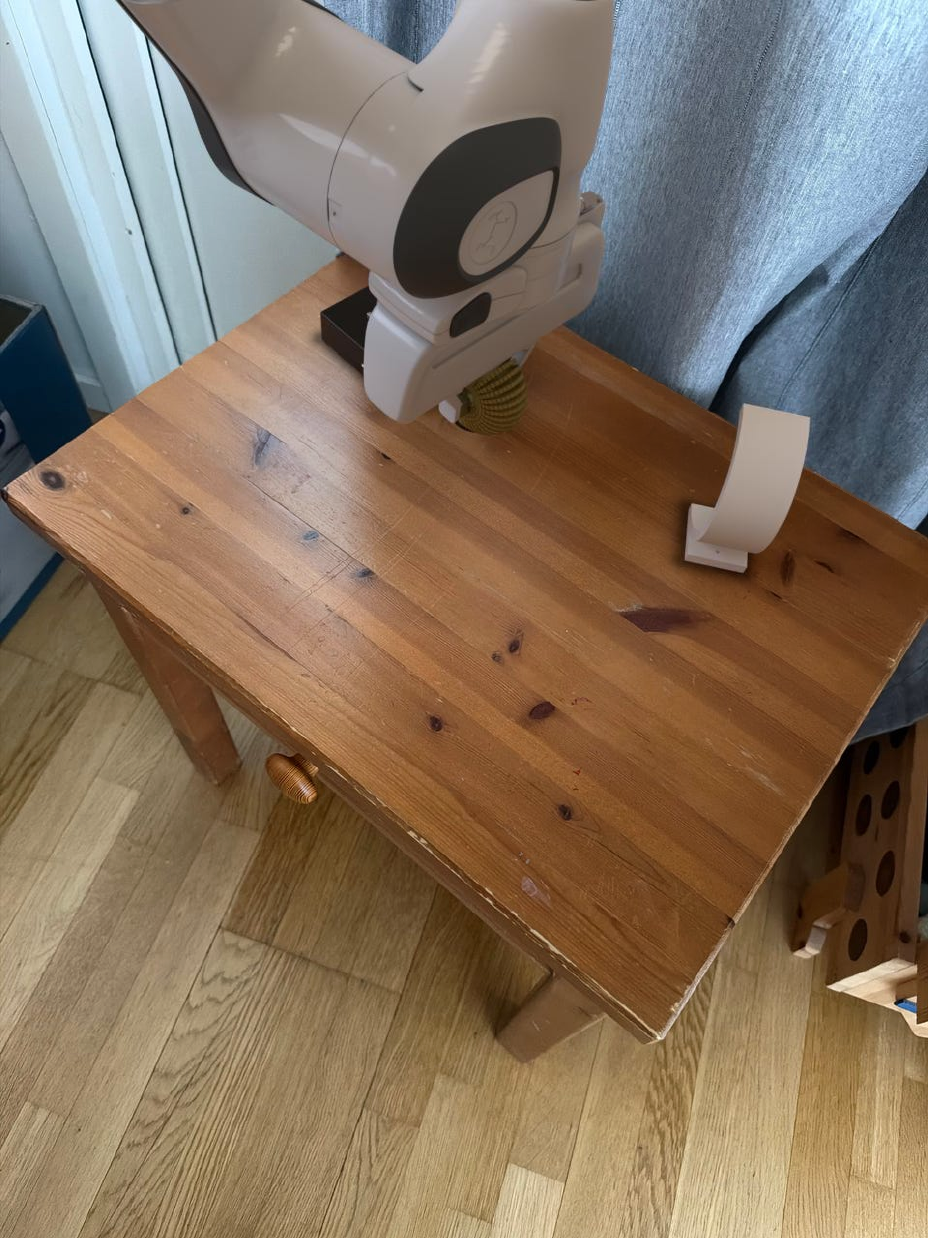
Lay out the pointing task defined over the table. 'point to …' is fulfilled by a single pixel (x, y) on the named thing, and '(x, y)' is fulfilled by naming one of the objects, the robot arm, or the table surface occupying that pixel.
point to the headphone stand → (751, 490)
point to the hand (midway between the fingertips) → (478, 397)
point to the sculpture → (496, 400)
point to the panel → (349, 326)
